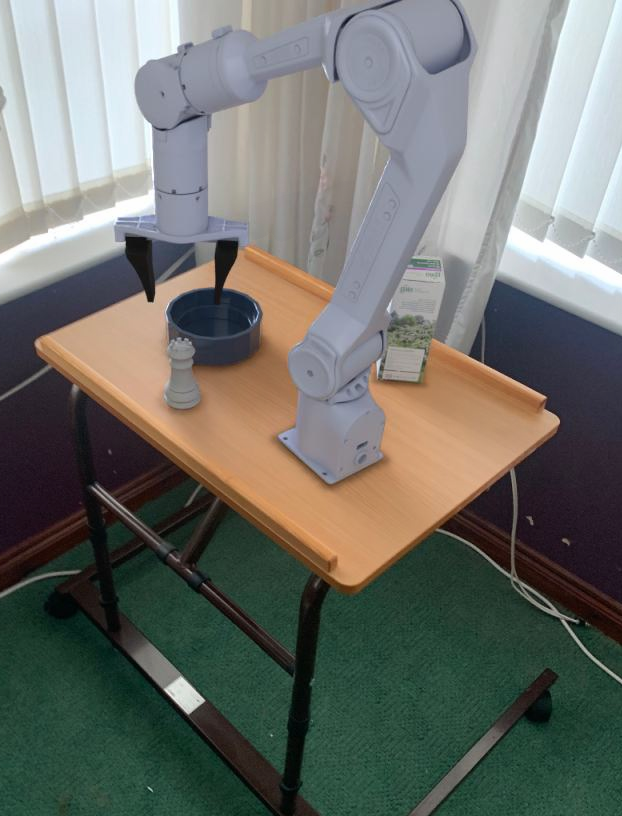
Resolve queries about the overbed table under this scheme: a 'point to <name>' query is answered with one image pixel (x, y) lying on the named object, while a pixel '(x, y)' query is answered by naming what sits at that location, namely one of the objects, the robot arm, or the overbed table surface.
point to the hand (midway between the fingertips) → (184, 299)
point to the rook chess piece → (181, 376)
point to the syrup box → (412, 321)
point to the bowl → (216, 325)
